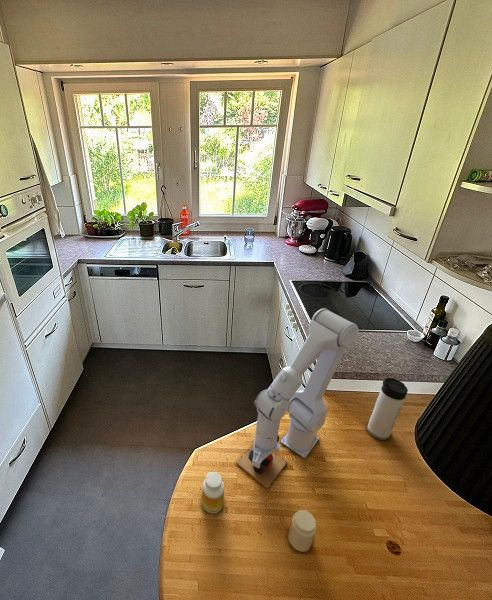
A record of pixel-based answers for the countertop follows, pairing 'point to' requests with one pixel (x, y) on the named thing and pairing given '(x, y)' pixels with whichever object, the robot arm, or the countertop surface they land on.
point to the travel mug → (387, 408)
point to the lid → (270, 461)
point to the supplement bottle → (213, 492)
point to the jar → (302, 530)
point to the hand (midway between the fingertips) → (261, 462)
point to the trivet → (267, 475)
